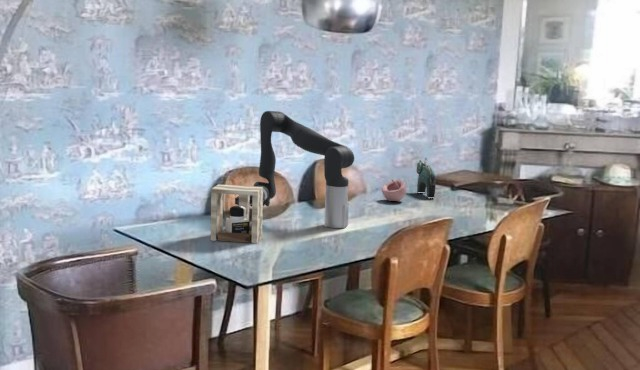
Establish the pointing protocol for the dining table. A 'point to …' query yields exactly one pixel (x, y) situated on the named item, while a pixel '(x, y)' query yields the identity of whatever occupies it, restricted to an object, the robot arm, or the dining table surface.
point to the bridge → (239, 190)
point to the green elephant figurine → (426, 178)
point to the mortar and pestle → (394, 190)
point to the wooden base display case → (238, 236)
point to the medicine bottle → (237, 220)
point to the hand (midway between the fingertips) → (249, 204)
